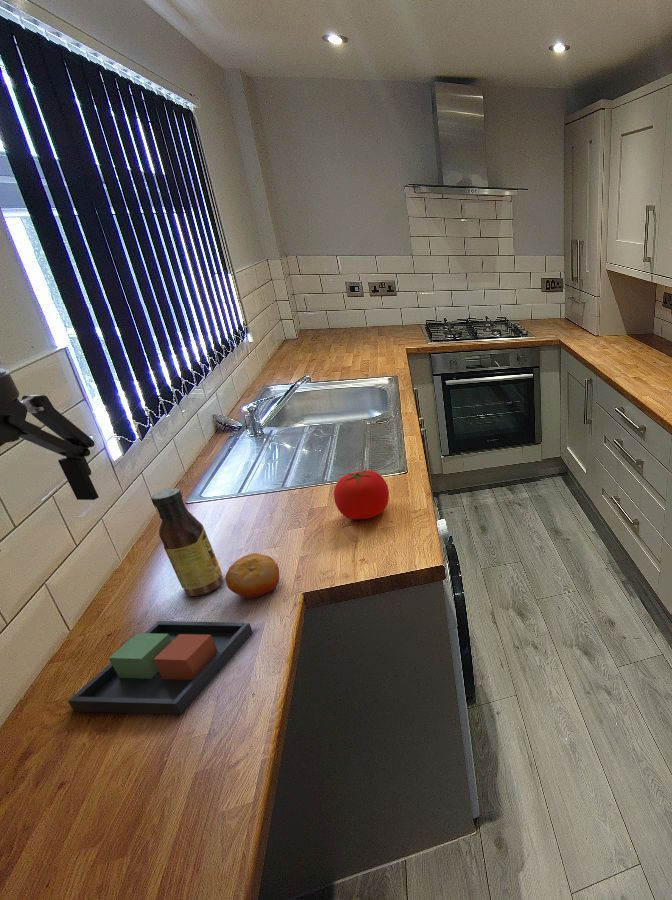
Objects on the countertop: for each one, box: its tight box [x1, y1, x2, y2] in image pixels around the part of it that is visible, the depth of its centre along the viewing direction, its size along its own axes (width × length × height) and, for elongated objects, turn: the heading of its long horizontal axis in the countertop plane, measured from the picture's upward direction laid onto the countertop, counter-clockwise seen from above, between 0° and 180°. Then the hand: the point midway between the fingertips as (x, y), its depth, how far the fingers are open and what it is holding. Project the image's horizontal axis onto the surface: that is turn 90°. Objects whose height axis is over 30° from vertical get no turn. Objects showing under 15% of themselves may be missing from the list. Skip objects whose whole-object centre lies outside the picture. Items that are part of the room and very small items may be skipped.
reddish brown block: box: [153, 634, 218, 680], centre depth 79 cm, size 5×5×4 cm
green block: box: [108, 632, 172, 679], centre depth 79 cm, size 5×5×4 cm
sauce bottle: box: [150, 487, 224, 597], centre depth 94 cm, size 7×6×20 cm
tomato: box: [333, 468, 390, 520], centre depth 118 cm, size 11×12×10 cm
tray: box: [67, 620, 254, 716], centre depth 80 cm, size 16×16×2 cm
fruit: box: [224, 552, 280, 600], centre depth 95 cm, size 8×8×8 cm
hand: (42, 523), depth 72 cm, fingers open, 13 cm apart
